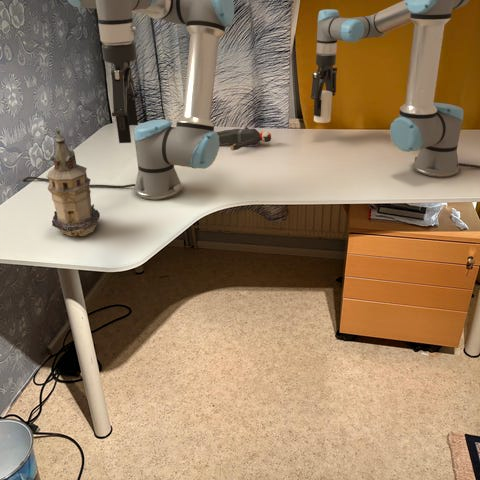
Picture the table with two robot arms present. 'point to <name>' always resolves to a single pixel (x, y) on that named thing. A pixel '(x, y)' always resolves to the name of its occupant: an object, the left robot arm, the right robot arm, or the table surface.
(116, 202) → the table surface
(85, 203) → the miniature building
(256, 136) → the toy
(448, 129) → the right robot arm
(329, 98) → the can
